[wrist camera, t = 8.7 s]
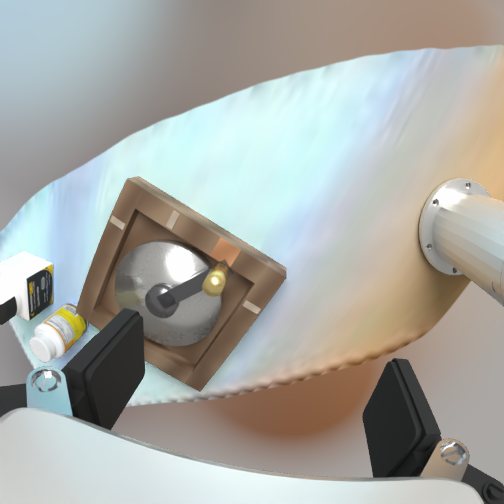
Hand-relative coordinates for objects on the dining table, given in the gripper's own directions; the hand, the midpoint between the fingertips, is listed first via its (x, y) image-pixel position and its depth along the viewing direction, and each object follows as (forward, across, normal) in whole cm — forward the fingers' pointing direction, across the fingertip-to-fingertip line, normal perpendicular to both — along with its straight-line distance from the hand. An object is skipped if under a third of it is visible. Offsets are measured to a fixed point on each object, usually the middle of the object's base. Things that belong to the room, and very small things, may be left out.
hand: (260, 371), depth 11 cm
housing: (+26, +12, +11) cm, 31 cm away
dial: (+25, +11, +10) cm, 29 cm away
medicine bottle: (+26, +36, +14) cm, 47 cm away
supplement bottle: (+26, +28, +20) cm, 43 cm away
